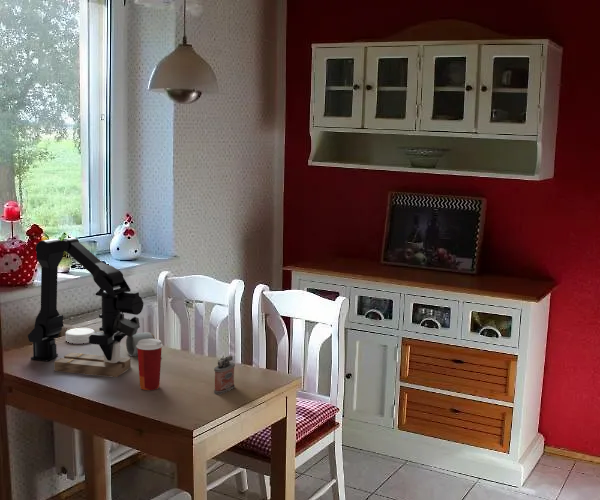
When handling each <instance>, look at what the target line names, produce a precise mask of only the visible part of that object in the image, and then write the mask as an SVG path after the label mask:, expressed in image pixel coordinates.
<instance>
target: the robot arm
mask: <svg viewBox="0 0 600 500" xmlns="http://www.w3.org/2000/svg"><path fill="white" fill-rule="evenodd" d="M64 252H66V253H67V254H69V256H71V258H73V259H74V260H75V261H76V262H77V263H78V264H80V265H81V266H82V267H83V268H84V269H85V270H87V272H89V274H90V275H91V276H92V279H93V281H94V282H95V284H96V285H97V287H99V290H98V291H97V292H96V293H95V296H97V297H98V296H99V297H101V298H100V299H101V313H100V314H99V315H98V318H99V319H101V326H99V328H98V329H99V330H98V331H96V332H95V333H93V334H92V335H91V336H90V337H89V343H88V344H89V345H98V346H99V348H100V349H101V351H102V353H103V356H104V355H105V356H106V358H107V360H108V361H111V359H112V351H113V344H114V343H115V342H120V343H121V342H122V340H123V339H124V338H125V337H127V336H129V337H132V336H133V335H134V334H136V333H138V330H139V329H140V328H141V325H140V319H139V317H137V316H138V315H139V314H141V313H142V311H143V308H144V304H145V303H144V301H143V298H142V296H140V293H139V292H138V291H134V292H133V291H132V289H131V288H130V286H129V284H128V283H127V281H126V280H125V278H124V275H123V272H122V271H121V270H120V269H118V268H116V267H114V266H113V265H109V264H106V263H104V262H103V261H102V260H101V259H99V258H98V257H97V256H96V255H94V253H92V252H91V251H90V250H89V249H88V248H87V247H85V245H84V244H82V243H81V242H80V241H79V239H77V238H75V237H69V238H65V239H62V240H61V239H60V238H50V239H45V240H40V241H38V242H37V243H36V245H35V254H36V260H37V262H38V263H39V265H40V268H41V270H40V271H41V272H40V273H41V274H40V277H41V278H40V310H39V312H38V314H37V316H36V317H35V322H34V327H33V329H32V330H31V331H30V332H29V333H28V334H27V338H28V341H29V343H32V352H33V353H32V354H33V355H32V356H31V357H30V360H34V361H35V360H36V361H44V362H47V361H48V362H49V361H50V360H52V359H54V358H56V357H58V356H59V354H58V353H57V352H58V351H57V343H56V338H59V336H60V332H61V331H62V330H63V327H64V315H63V314H60V312H59V311H58V304H57V303H58V268H59V266H60V264H61V262H62V260H63V257H64ZM125 314H129V315H134V316H133V317H131V318H125ZM135 315H136V316H135Z"/></svg>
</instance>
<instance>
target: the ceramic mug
mask: <svg viewBox="0 0 600 500" xmlns="http://www.w3.org/2000/svg"><path fill="white" fill-rule="evenodd" d="M143 339H156V337H155V335H154V334H153V333H152V332H149V331H148V332H145V331H144V332H136V334H134V335H133V336H132V337H129V336H127V335H126V339H125V340H126V341H125V346H126V347H125V348H126V351H127V353H128V355H129V356H130V357H134V356H135V357H136V356H137V357H138V350H137V347H136V345H137V343H138V341H140V340H143Z"/></svg>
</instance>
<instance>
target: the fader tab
mask: <svg viewBox="0 0 600 500" xmlns="http://www.w3.org/2000/svg"><path fill="white" fill-rule="evenodd" d="M120 345H121V342H115V343H114V344H113V351H112V359H111V361H108V360H107V358H106V356H105V355H104V354H103V356H104V362H109V363H117V362H118V361H120V357H121V346H120Z"/></svg>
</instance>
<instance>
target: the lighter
mask: <svg viewBox="0 0 600 500" xmlns="http://www.w3.org/2000/svg"><path fill="white" fill-rule="evenodd" d="M233 357H234V356H233V355H232V354H231V355H226V356H225V357H223V356H222V357H221V358H220V359H219V360H217V366H216V367H214V370H213V371H214V390H213V393H214V394H215V395H222V393H223V394H226V393H228V392H227V391H229V392H230V390H231V389H232V390H234V389H235V388H234V387H236V386H235V366H236V363H235V362H232V361H233V359H234V358H233ZM233 388H234V389H233ZM232 390H231V391H232ZM225 392H226V393H225Z"/></svg>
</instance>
